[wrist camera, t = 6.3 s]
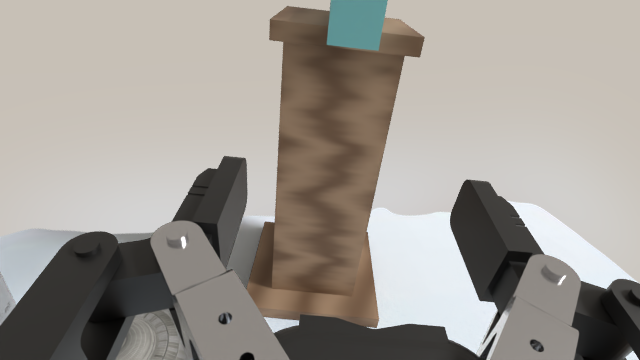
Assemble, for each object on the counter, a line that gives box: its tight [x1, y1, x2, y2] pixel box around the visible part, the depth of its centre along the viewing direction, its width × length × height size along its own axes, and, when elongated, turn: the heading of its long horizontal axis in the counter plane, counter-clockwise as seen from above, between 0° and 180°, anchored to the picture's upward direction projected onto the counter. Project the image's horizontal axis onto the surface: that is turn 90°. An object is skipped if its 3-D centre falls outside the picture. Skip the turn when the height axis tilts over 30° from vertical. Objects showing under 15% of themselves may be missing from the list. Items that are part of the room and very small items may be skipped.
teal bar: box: [327, 0, 388, 51], centre depth 30 cm, size 3×24×3 cm, turn 178°
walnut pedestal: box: [246, 6, 424, 328], centre depth 40 cm, size 16×16×32 cm
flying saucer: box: [116, 309, 187, 360], centre depth 33 cm, size 15×15×6 cm
